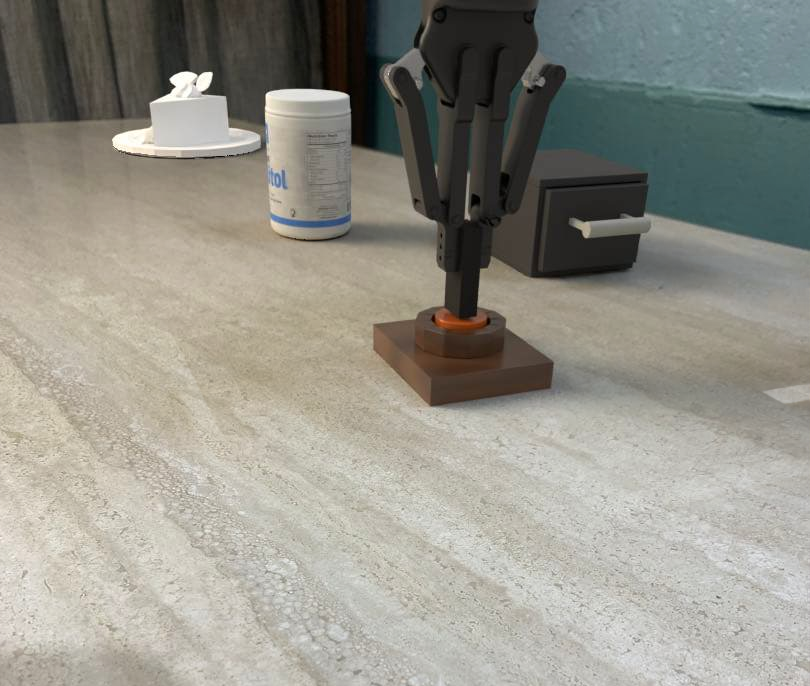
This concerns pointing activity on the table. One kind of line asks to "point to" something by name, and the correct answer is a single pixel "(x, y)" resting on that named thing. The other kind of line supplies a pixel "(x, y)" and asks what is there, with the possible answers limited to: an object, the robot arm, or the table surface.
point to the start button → (460, 320)
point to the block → (461, 359)
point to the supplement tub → (309, 162)
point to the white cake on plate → (189, 124)
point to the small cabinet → (549, 169)
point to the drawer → (592, 225)
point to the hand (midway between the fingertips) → (460, 311)
